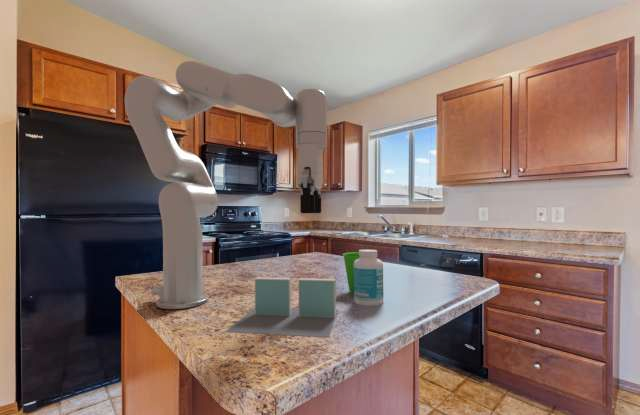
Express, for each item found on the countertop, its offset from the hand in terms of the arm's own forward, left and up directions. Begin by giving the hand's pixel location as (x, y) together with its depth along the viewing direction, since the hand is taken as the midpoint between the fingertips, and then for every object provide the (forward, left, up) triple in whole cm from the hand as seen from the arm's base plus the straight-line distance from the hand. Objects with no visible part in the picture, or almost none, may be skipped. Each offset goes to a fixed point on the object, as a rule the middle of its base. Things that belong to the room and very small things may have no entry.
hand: (311, 213), depth 75 cm
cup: (+10, +17, -23) cm, 31 cm away
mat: (-4, -10, -23) cm, 25 cm away
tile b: (+2, -7, -23) cm, 24 cm away
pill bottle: (+13, +6, -23) cm, 28 cm away
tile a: (-8, -7, -23) cm, 25 cm away
